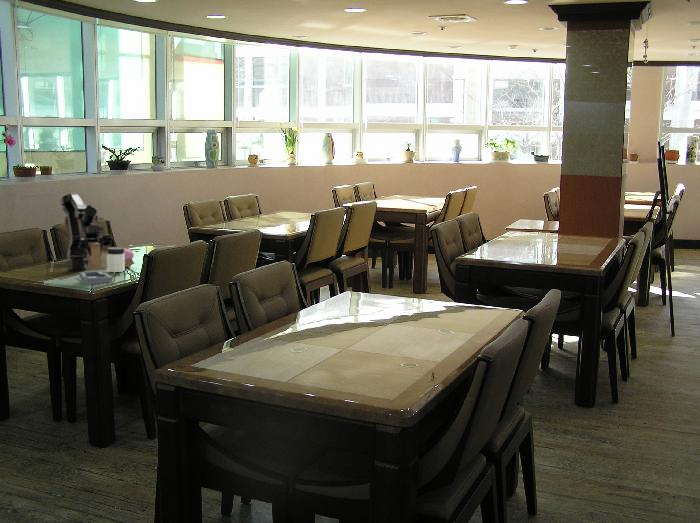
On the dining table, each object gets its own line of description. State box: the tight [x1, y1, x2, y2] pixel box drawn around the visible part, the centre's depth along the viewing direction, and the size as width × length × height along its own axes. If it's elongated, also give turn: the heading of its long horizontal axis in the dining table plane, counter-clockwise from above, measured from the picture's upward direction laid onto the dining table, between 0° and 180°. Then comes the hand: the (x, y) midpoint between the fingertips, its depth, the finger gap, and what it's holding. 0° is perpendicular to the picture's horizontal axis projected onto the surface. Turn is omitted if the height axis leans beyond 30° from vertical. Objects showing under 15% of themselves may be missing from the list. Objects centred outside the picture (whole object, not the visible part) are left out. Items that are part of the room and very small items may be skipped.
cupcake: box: [124, 248, 135, 268], centre depth 410 cm, size 9×9×10 cm
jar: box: [106, 246, 126, 274], centre depth 398 cm, size 9×8×12 cm
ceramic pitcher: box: [64, 214, 105, 262], centre depth 428 cm, size 18×21×25 cm
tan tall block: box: [87, 242, 102, 271], centre depth 373 cm, size 6×4×12 cm, turn 34°
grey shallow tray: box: [75, 270, 115, 285], centre depth 375 cm, size 18×13×2 cm
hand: (95, 254), depth 372 cm, fingers closed on tan tall block, 4 cm apart
